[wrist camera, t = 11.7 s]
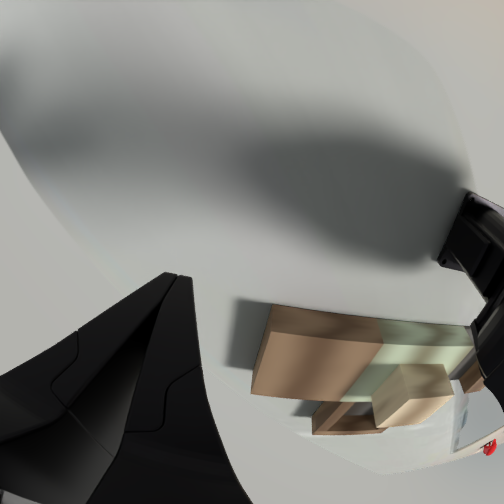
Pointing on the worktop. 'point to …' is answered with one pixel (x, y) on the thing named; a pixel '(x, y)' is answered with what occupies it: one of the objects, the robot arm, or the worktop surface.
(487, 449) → the cap
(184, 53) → the worktop surface
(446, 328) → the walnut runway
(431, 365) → the beech block
